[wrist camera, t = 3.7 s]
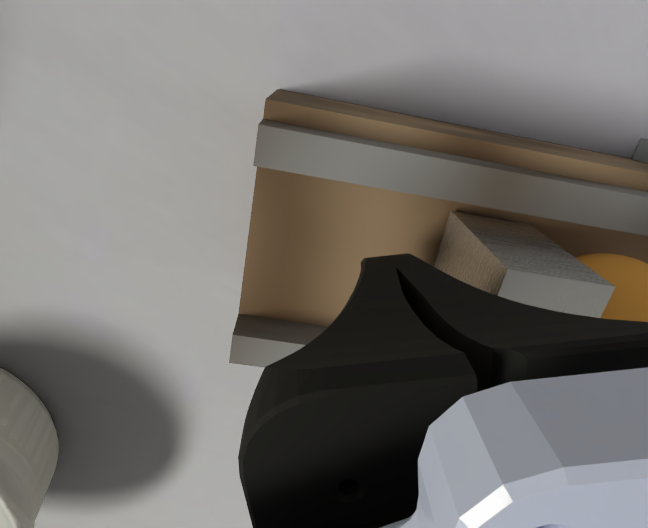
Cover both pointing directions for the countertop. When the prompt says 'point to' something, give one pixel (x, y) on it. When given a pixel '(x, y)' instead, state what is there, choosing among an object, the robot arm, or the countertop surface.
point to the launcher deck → (402, 206)
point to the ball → (622, 285)
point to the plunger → (519, 265)
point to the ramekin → (24, 452)
